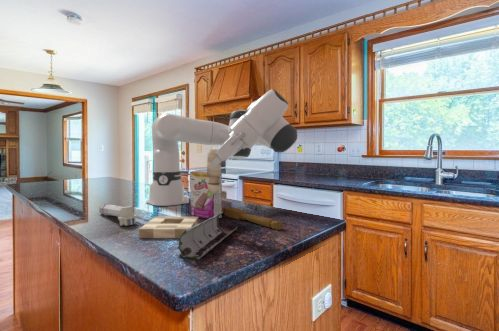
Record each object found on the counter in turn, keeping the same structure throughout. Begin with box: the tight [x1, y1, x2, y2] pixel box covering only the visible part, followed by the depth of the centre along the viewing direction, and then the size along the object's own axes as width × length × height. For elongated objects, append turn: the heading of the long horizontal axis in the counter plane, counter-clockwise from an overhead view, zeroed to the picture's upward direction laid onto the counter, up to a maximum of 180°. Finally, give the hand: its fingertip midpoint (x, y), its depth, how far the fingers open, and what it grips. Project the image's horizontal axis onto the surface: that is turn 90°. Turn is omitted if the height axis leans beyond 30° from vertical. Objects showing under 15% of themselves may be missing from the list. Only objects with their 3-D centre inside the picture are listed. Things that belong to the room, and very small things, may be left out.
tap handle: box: [222, 206, 283, 231], centre depth 105 cm, size 3×3×30 cm
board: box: [138, 216, 199, 239], centre depth 93 cm, size 15×14×2 cm
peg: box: [206, 148, 222, 193], centre depth 93 cm, size 4×4×13 cm
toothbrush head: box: [99, 203, 137, 227], centre depth 107 cm, size 5×7×25 cm
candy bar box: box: [189, 170, 223, 220], centre depth 110 cm, size 11×5×16 cm, turn 57°
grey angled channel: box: [177, 212, 238, 260], centre depth 81 cm, size 7×7×25 cm
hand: (212, 166), depth 93 cm, fingers closed on peg, 4 cm apart
